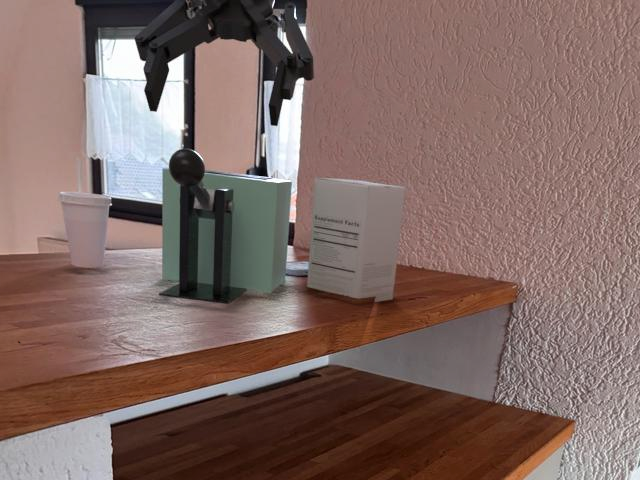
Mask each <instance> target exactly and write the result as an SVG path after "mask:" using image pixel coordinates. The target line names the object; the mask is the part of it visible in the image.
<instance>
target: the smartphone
mask: <svg viewBox="0 0 640 480" xmlns="http://www.w3.org/2000/svg"><path fill="white" fill-rule="evenodd" d="M308 266H309V260H306V261H304V260H303V261H301V260H300V261H287V262H286V275H289V276H308Z"/></svg>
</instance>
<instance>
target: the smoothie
mask: <svg viewBox="0 0 640 480" xmlns="http://www.w3.org/2000/svg"><path fill="white" fill-rule="evenodd" d="M82 159H83V158H82V156H76V170H77V171H76V172H77V175H76V176H77V191H70V190H69V191H67V190H65V191H59V192H58V200H57V201H59V202H60V203H61V208H62V216H63V221H64V227H65V232H66V239H67V245H68V250H69V256H70V257H69V258H70V263H71V265H72V266H74V267H76V268H77V267H78V268H87V269H100V268H103V267H105V266H104V264H105V254H106V245H107V234H108V225H109V224H108V222H109V212H110V207H111V206H113V203H112V197H111V196H109V195H104V194H98V193H92V192H91V193H90V192H84V189H83V187H84V186H83V161H82Z"/></svg>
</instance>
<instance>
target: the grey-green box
mask: <svg viewBox="0 0 640 480" xmlns="http://www.w3.org/2000/svg"><path fill="white" fill-rule="evenodd" d="M161 180H162V187H161V188H162V190H161V191H162V193H161V195H162V196H161V197H162V200H161V201H162V205H161V208H162V211H161V212H162V214H161V215H162V216H161V217H162V218H161V219H162V221H161V222H162V225H161V226H162V228H161V232H162V233H161V236H162V237H161V238H162V239H161V241H162V242H161V244H162V245H161V246H162V247H161V248H162V249H161V252H162V253H161V264H162V265H161V268H162V269H161V270H162V271H161V279H162V280H166V281H174V282H179V252H180V184H178V183H177V182H175V180H174V179H173V178H172V176H171V174H170V171H169V167H168V168H167V167H166V168H165V167H164V168H162V177H161ZM202 182H203V184H204V186H205V188H206V189H212V190H215V191H216V189H224V188H227V189H233V201H234V212H233V216H232V242H231V269H230V287H237V288H245V289H247V291H254V292H255V291H256V292H261V293H262V292H263V293H269V294H271V293H272V292H274V291H275V290H276V289H277V288H279V286H281V285H282V284H284V282H286V277H287V274H286V262H288V248H289V247H288V245H289V230H290V218H291V217H290V215H291V202H292V187H293V181H292V180H287V179H280V178H274V177H268V176H259V175H253V174H252V175H251V174H243V173H235V172H228V171H227V172H226V171H218V170H212V169H211V170H210V169H205V174H204V177H203V179H202ZM214 236H215V219H206V218H199V233H198V281H197V283H205V284H213V270H214Z"/></svg>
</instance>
